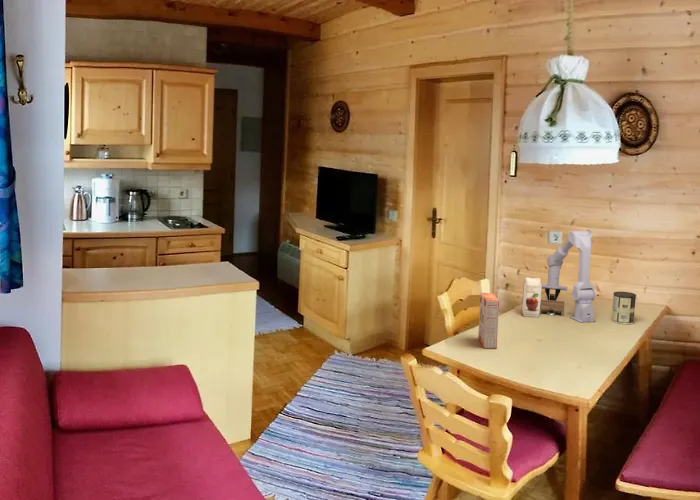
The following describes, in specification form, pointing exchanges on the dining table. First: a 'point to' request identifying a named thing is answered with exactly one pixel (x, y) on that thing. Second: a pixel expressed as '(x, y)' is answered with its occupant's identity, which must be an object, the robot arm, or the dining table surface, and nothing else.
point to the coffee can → (623, 307)
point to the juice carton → (531, 297)
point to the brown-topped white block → (552, 297)
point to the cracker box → (488, 320)
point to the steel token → (551, 314)
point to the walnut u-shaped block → (552, 306)
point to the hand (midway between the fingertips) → (551, 302)
